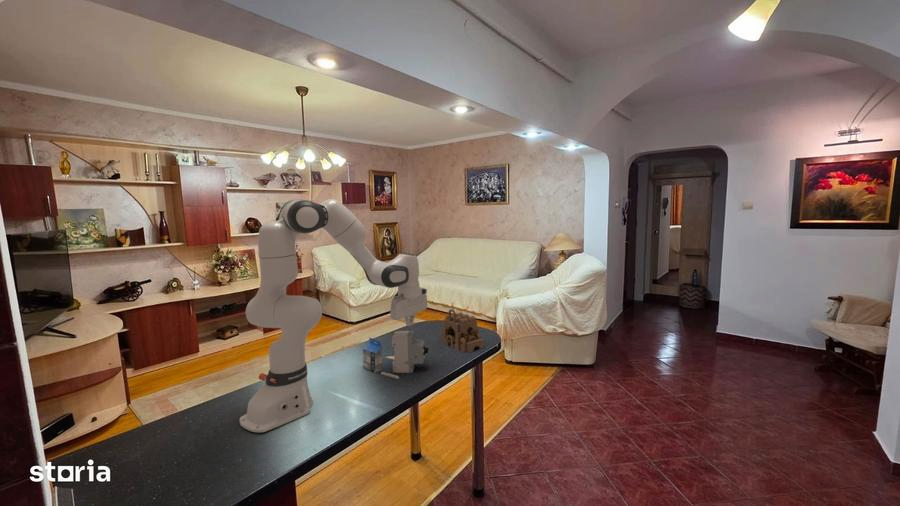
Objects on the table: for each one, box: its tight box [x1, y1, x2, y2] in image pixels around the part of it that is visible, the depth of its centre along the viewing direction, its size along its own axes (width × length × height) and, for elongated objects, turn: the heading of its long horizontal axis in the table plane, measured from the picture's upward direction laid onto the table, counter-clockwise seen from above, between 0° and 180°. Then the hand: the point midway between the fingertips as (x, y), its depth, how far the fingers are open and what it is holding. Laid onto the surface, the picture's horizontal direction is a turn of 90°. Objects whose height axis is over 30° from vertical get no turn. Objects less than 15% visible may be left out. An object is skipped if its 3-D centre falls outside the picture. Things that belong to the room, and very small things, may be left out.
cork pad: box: [385, 355, 395, 361], centre depth 162 cm, size 7×10×1 cm
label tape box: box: [362, 337, 383, 374], centre depth 149 cm, size 9×4×12 cm, turn 48°
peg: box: [380, 371, 400, 380], centre depth 142 cm, size 1×9×1 cm, turn 58°
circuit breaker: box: [391, 330, 429, 374], centre depth 148 cm, size 8×14×15 cm, turn 89°
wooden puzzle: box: [439, 308, 485, 353], centre depth 176 cm, size 22×15×19 cm, turn 39°
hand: (409, 325), depth 147 cm, fingers closed
